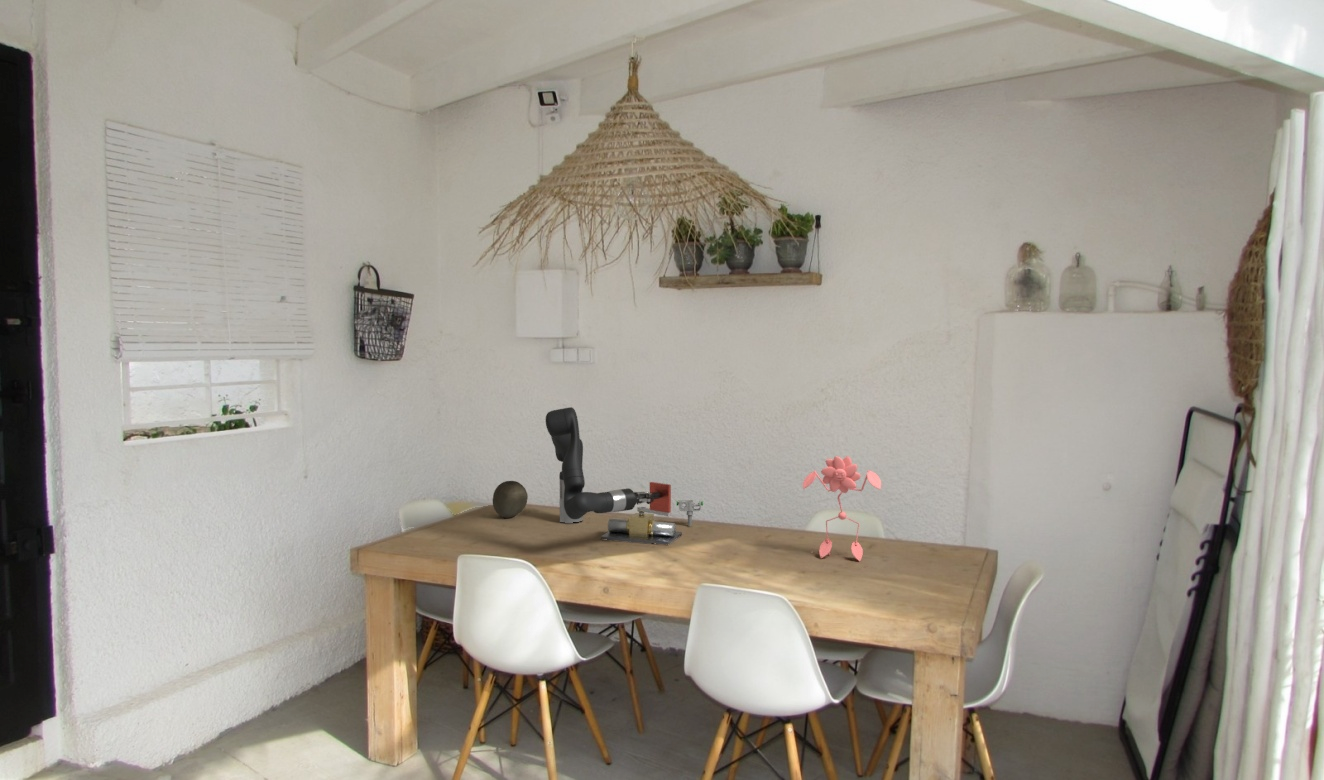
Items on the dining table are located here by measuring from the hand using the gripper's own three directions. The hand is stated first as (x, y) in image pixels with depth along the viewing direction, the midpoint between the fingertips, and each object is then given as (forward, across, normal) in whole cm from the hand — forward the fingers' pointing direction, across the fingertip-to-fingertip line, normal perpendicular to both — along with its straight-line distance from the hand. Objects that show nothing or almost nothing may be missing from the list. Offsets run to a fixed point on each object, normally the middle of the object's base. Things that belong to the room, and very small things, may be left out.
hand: (659, 495), depth 298 cm
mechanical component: (+24, +12, +17) cm, 32 cm away
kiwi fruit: (-24, +70, +17) cm, 76 cm away
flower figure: (+31, -57, +17) cm, 67 cm away
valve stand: (-1, +9, +17) cm, 19 cm away
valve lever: (0, +3, +7) cm, 8 cm away
